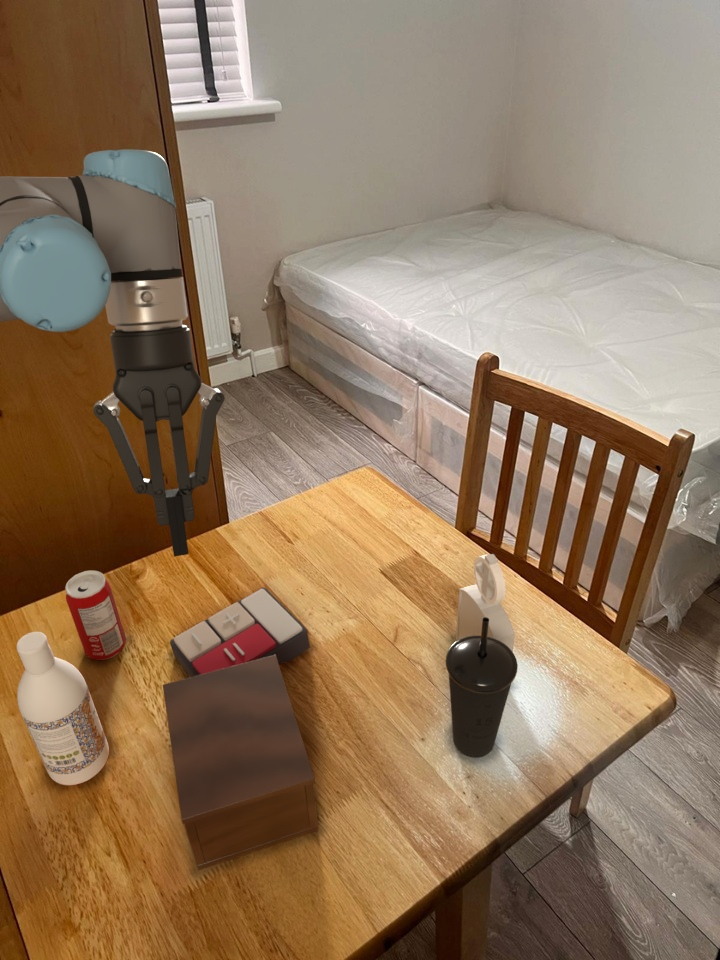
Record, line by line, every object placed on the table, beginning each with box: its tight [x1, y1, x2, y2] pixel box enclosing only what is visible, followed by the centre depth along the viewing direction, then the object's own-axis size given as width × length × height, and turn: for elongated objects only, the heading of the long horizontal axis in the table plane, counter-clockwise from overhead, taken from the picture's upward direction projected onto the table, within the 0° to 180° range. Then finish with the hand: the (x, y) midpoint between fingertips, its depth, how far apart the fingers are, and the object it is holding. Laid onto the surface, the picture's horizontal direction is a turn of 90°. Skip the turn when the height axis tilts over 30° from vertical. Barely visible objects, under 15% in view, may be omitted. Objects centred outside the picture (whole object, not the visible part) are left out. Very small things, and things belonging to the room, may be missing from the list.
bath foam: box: [16, 631, 110, 786], centre depth 80 cm, size 7×7×20 cm
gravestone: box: [455, 553, 516, 653], centre depth 91 cm, size 3×9×18 cm, turn 20°
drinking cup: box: [445, 617, 518, 759], centre depth 80 cm, size 8×8×20 cm
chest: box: [183, 783, 319, 871], centre depth 79 cm, size 16×13×10 cm
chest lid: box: [162, 655, 316, 825], centre depth 76 cm, size 17×13×1 cm
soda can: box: [64, 570, 127, 661], centre depth 96 cm, size 6×6×12 cm
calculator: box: [169, 587, 311, 678], centre depth 97 cm, size 11×4×15 cm
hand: (180, 550), depth 78 cm, fingers closed
